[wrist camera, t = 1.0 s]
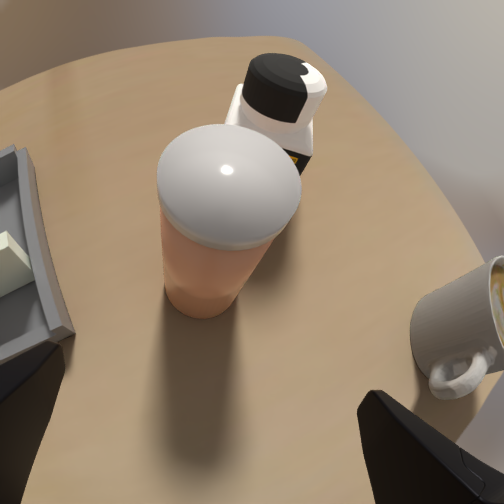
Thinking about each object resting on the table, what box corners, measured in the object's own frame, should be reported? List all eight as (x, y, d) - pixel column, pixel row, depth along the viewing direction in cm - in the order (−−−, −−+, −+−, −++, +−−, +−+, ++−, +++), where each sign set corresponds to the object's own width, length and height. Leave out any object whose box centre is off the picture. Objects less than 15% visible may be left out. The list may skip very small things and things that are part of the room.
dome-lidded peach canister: (202, 336, 21) (236, 271, 10) (148, 281, 22) (127, 167, 11) (253, 283, 24) (325, 183, 13) (200, 235, 25) (229, 108, 13)
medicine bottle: (209, 185, 27) (236, 74, 16) (224, 135, 30) (251, 37, 20) (284, 204, 28) (342, 107, 18) (288, 152, 31) (333, 63, 21)
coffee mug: (441, 278, 30) (505, 239, 21) (475, 346, 27) (542, 322, 18) (371, 343, 24) (457, 312, 15) (416, 425, 22) (501, 420, 13)
